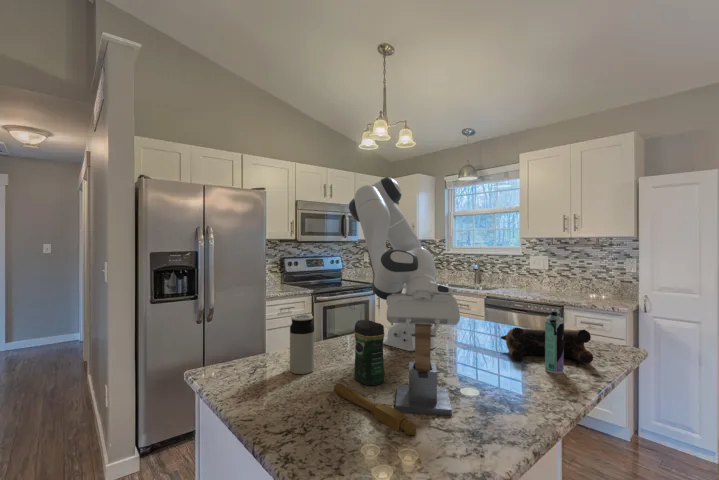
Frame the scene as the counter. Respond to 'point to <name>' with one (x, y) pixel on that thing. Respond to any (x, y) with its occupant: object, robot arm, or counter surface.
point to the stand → (423, 393)
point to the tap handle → (378, 410)
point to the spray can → (554, 344)
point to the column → (422, 346)
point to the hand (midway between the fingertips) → (423, 335)
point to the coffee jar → (369, 352)
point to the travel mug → (301, 344)
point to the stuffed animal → (534, 344)
